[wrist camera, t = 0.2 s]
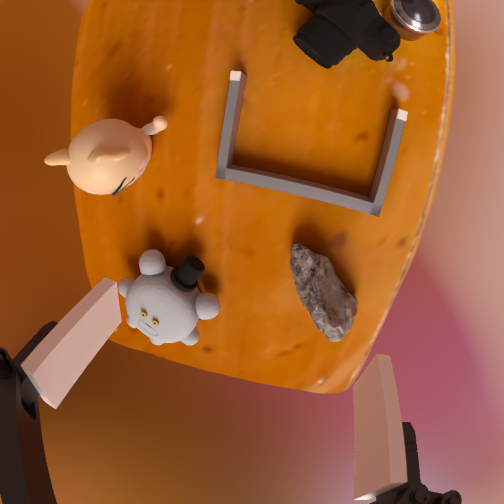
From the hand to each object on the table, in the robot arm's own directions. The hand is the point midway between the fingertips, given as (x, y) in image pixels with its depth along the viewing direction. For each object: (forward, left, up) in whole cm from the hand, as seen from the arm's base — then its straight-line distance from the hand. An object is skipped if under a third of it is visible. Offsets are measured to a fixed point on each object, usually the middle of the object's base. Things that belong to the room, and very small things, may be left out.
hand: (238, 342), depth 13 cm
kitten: (-3, -23, -28) cm, 36 cm away
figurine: (+21, -15, -28) cm, 38 cm away
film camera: (-23, +2, -28) cm, 36 cm away
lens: (-29, +11, -28) cm, 41 cm away
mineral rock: (+11, +9, -28) cm, 31 cm away
